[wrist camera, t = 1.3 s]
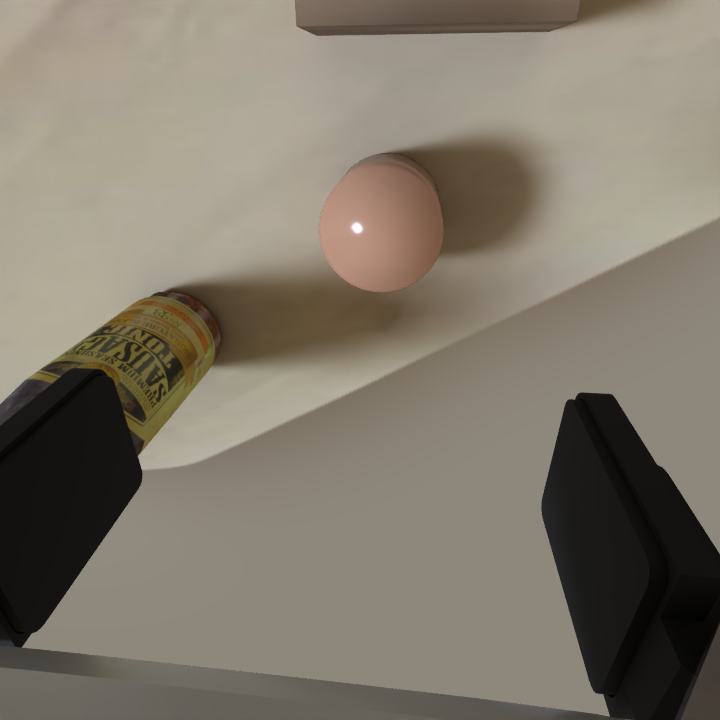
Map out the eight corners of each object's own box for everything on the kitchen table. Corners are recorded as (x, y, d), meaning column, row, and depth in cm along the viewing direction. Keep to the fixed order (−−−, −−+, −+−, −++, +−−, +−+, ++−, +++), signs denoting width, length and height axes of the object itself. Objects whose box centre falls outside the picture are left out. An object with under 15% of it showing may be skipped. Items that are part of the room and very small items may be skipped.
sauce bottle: (239, 315, 32) (31, 589, 15) (207, 382, 35) (3, 673, 18) (146, 265, 31) (-197, 497, 14) (121, 338, 34) (-185, 604, 17)
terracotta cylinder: (332, 153, 26) (315, 167, 22) (443, 153, 26) (448, 167, 21) (336, 259, 29) (322, 290, 25) (435, 261, 29) (439, 294, 24)
